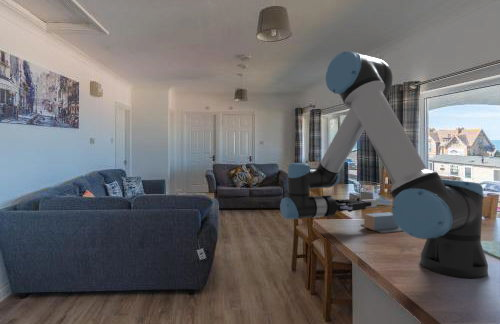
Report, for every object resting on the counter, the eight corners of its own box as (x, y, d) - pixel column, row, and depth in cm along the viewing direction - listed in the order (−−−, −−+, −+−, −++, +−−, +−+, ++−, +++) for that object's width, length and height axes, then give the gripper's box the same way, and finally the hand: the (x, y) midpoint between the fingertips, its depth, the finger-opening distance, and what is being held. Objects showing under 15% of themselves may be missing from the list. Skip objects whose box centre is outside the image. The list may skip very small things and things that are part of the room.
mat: (382, 233, 120) (382, 232, 120) (360, 225, 131) (360, 224, 131) (414, 230, 125) (414, 229, 125) (390, 222, 136) (391, 221, 136)
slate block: (373, 216, 123) (399, 214, 126) (364, 214, 127) (389, 212, 131) (372, 230, 123) (398, 227, 127) (364, 226, 128) (389, 224, 131)
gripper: (312, 213, 125) (364, 209, 133) (332, 220, 112) (387, 216, 120) (313, 193, 124) (364, 190, 132) (332, 198, 112) (388, 195, 120)
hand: (375, 202), depth 126 cm, fingers closed
